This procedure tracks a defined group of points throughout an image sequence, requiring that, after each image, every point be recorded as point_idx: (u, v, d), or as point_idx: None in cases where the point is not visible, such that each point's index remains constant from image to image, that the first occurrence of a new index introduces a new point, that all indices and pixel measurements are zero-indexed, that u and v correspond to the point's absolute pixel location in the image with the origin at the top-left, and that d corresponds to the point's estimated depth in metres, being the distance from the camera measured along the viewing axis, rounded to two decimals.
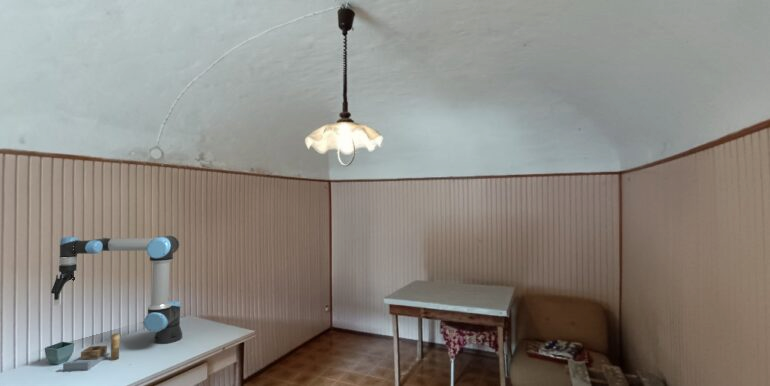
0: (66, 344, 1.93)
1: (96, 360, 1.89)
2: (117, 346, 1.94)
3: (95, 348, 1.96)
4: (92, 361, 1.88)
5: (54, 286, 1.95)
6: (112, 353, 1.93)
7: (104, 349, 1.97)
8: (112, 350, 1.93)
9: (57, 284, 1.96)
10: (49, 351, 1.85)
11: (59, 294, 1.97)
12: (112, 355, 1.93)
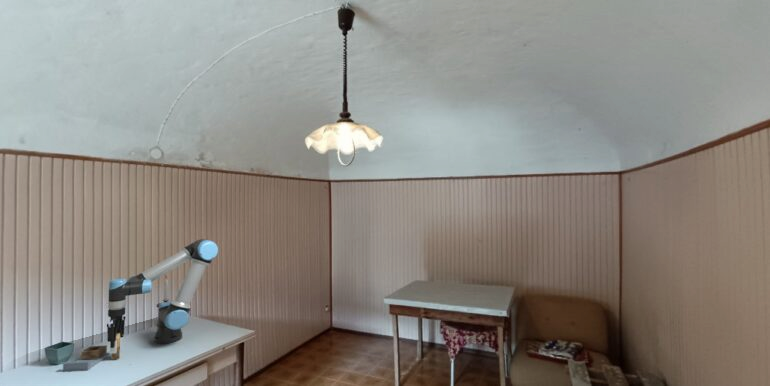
0: (66, 344, 1.93)
1: (96, 360, 1.89)
2: (117, 345, 1.94)
3: (95, 348, 1.96)
4: (92, 361, 1.88)
5: (108, 335, 1.89)
6: None
7: (104, 349, 1.97)
8: None
9: (111, 333, 1.89)
10: (49, 351, 1.85)
11: (115, 342, 1.92)
12: (113, 354, 1.93)
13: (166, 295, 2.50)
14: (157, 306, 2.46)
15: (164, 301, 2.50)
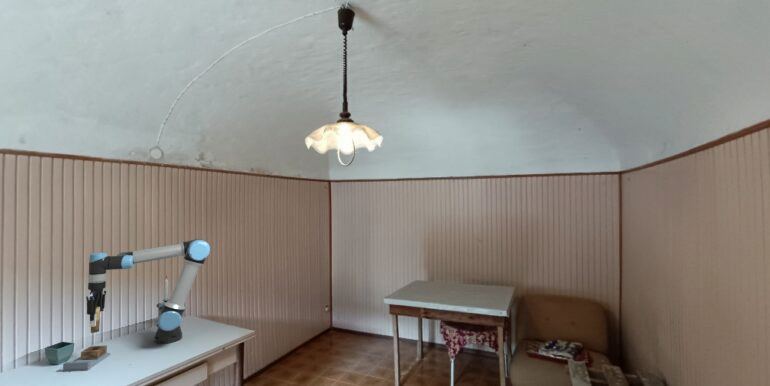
0: (66, 344, 1.93)
1: (96, 360, 1.89)
2: (97, 319, 1.94)
3: (95, 348, 1.96)
4: (92, 361, 1.88)
5: (88, 308, 1.89)
6: None
7: (104, 349, 1.97)
8: None
9: (90, 306, 1.90)
10: (49, 351, 1.85)
11: (94, 315, 1.93)
12: (92, 327, 1.93)
13: (166, 295, 2.50)
14: (157, 306, 2.46)
15: (164, 301, 2.50)
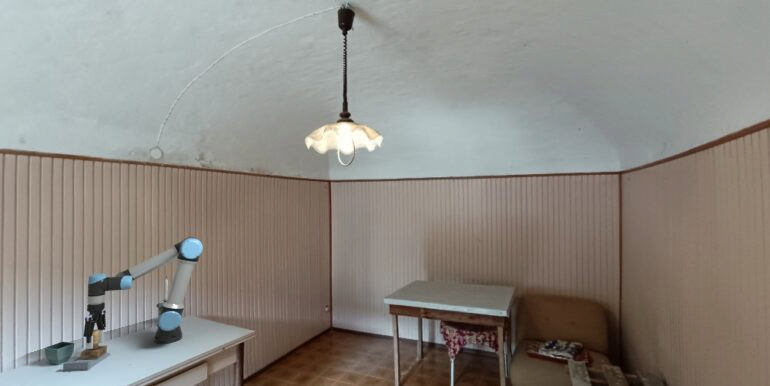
0: (66, 344, 1.93)
1: (96, 360, 1.89)
2: (96, 342, 1.94)
3: None
4: (92, 361, 1.88)
5: (85, 330, 1.88)
6: (91, 349, 1.92)
7: (104, 349, 1.97)
8: None
9: (88, 327, 1.88)
10: (49, 351, 1.85)
11: (91, 337, 1.90)
12: None
13: (166, 295, 2.50)
14: (157, 306, 2.46)
15: (164, 301, 2.50)
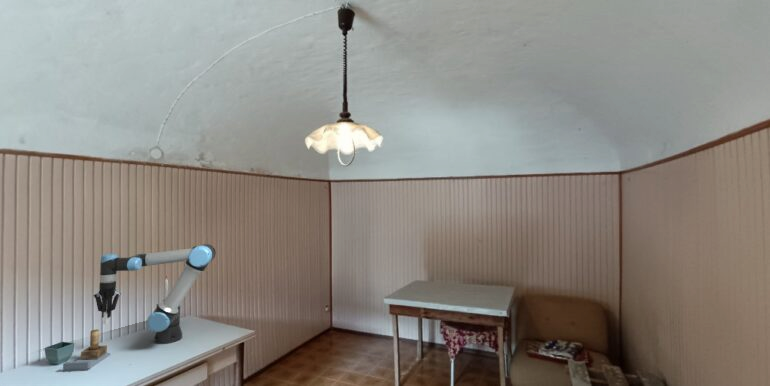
0: (66, 344, 1.93)
1: (96, 360, 1.89)
2: (96, 342, 1.94)
3: None
4: (92, 361, 1.88)
5: None
6: (91, 349, 1.92)
7: (104, 349, 1.97)
8: (91, 346, 1.93)
9: None
10: (49, 351, 1.85)
11: (103, 313, 2.03)
12: None
13: (166, 295, 2.50)
14: None
15: None
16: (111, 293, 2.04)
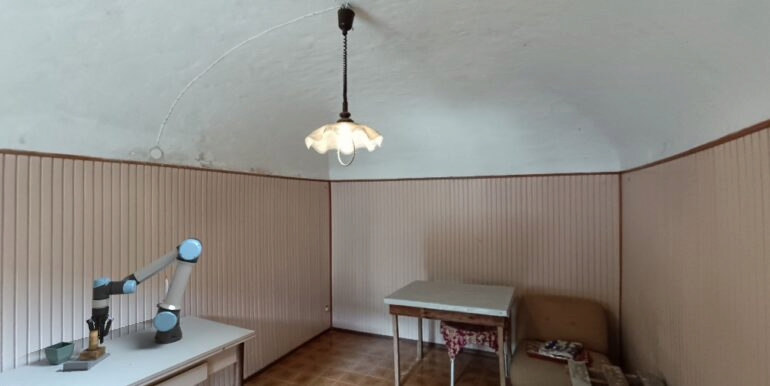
0: (66, 344, 1.93)
1: (96, 360, 1.89)
2: (95, 343, 1.93)
3: None
4: (92, 361, 1.88)
5: None
6: (90, 350, 1.91)
7: (103, 350, 1.96)
8: (90, 347, 1.91)
9: None
10: (49, 351, 1.85)
11: None
12: None
13: None
14: (157, 306, 2.46)
15: None
16: (104, 318, 1.98)
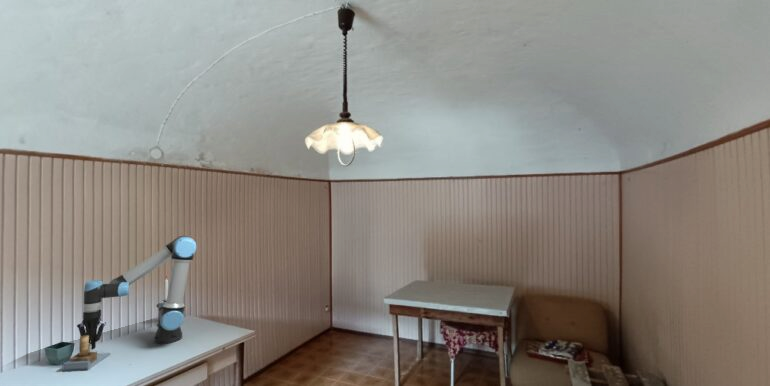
0: (66, 344, 1.93)
1: (96, 360, 1.89)
2: (86, 348, 1.85)
3: None
4: None
5: None
6: (81, 356, 1.84)
7: (95, 355, 1.89)
8: (80, 352, 1.84)
9: None
10: (49, 351, 1.85)
11: None
12: None
13: (166, 295, 2.50)
14: (157, 306, 2.46)
15: (164, 301, 2.50)
16: (96, 323, 1.91)
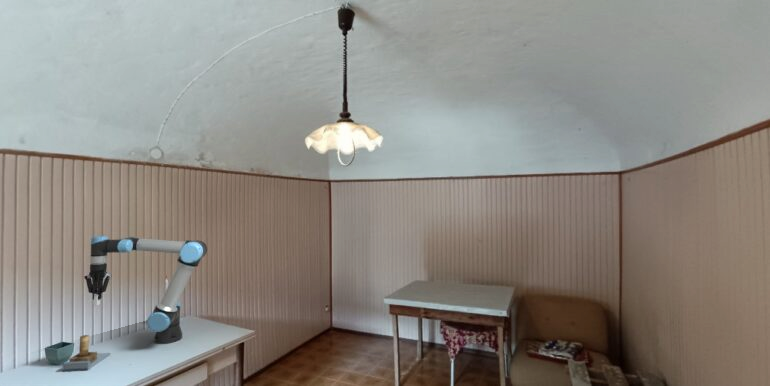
0: (66, 344, 1.93)
1: (96, 360, 1.89)
2: (86, 348, 1.85)
3: None
4: None
5: None
6: (81, 356, 1.84)
7: (94, 355, 1.89)
8: (80, 352, 1.84)
9: None
10: (49, 351, 1.85)
11: None
12: None
13: None
14: None
15: None
16: (102, 275, 2.04)
